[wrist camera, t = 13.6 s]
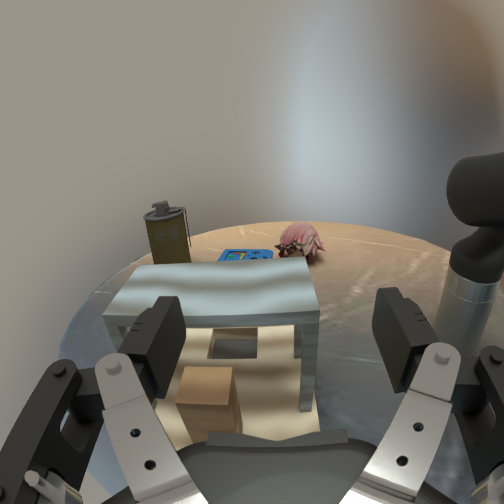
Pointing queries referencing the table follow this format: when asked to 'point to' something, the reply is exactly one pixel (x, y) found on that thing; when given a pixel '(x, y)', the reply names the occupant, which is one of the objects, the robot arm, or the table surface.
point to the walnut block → (208, 402)
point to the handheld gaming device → (245, 254)
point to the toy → (299, 241)
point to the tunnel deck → (237, 337)
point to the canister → (167, 234)
